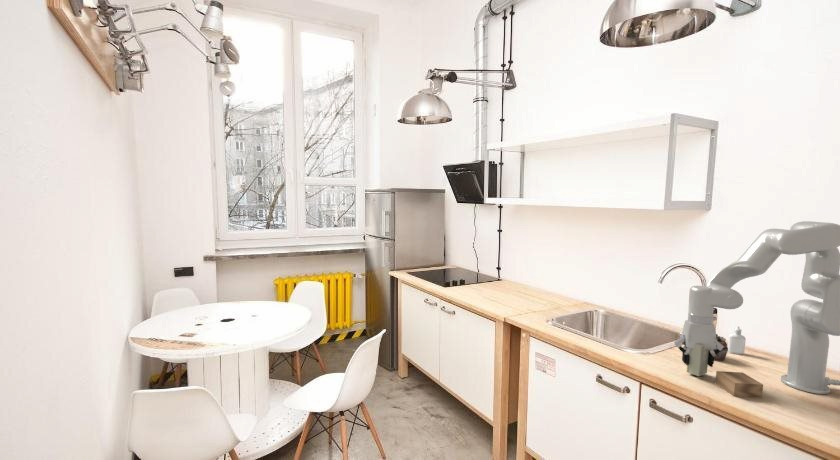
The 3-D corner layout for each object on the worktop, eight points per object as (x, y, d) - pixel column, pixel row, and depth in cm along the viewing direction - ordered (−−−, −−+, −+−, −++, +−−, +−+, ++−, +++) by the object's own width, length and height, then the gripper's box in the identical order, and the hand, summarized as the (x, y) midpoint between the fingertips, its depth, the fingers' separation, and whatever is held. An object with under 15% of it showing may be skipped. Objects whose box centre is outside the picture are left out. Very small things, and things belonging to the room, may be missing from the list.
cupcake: (733, 361, 158) (735, 338, 157) (714, 362, 156) (716, 339, 155) (711, 352, 167) (713, 330, 167) (693, 353, 166) (695, 330, 165)
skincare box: (695, 368, 148) (696, 338, 147) (707, 373, 144) (709, 342, 143) (686, 372, 145) (687, 341, 144) (698, 376, 141) (700, 345, 140)
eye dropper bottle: (742, 356, 164) (745, 329, 163) (726, 351, 168) (729, 325, 167) (744, 353, 167) (747, 327, 166) (728, 349, 171) (731, 323, 170)
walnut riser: (741, 385, 137) (742, 372, 137) (761, 398, 128) (763, 384, 128) (715, 384, 138) (716, 371, 137) (733, 397, 129) (734, 382, 128)
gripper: (720, 317, 145) (717, 362, 146) (670, 314, 148) (667, 358, 149) (732, 323, 137) (729, 370, 139) (679, 320, 141) (676, 366, 142)
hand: (697, 364), depth 144 cm, fingers closed on skincare box, 7 cm apart
